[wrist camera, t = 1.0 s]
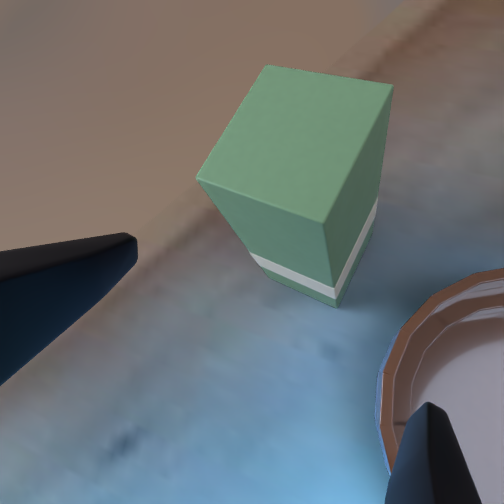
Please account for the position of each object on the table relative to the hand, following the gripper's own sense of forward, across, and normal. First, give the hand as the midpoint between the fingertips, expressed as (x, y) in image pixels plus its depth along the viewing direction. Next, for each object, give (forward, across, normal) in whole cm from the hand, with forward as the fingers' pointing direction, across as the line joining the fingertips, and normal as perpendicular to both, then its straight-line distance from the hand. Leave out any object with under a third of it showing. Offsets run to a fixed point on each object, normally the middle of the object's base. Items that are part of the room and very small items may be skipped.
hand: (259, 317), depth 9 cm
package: (+14, +1, +7) cm, 16 cm away
